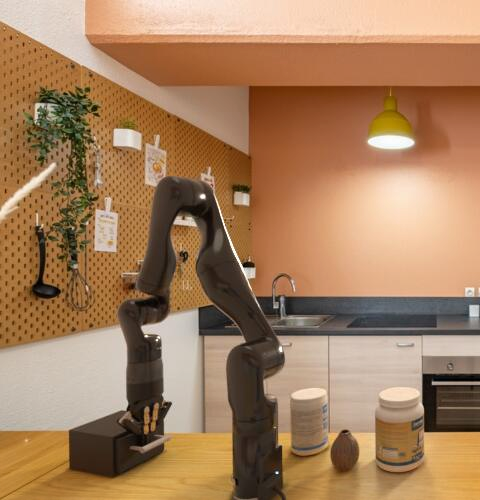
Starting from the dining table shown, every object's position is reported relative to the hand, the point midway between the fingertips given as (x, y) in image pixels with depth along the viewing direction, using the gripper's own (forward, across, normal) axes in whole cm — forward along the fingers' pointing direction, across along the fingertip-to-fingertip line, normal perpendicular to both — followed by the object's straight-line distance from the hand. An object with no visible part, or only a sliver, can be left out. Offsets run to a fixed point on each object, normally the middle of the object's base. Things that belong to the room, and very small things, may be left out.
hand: (146, 447), depth 100 cm
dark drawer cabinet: (+4, 0, +10) cm, 11 cm away
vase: (+5, +12, -48) cm, 50 cm away
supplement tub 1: (+5, +18, -34) cm, 39 cm away
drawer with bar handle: (+4, 0, +5) cm, 7 cm away
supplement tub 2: (+5, +18, -60) cm, 63 cm away
